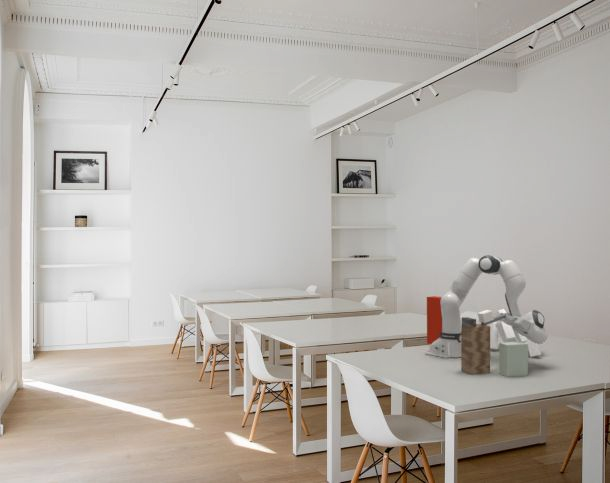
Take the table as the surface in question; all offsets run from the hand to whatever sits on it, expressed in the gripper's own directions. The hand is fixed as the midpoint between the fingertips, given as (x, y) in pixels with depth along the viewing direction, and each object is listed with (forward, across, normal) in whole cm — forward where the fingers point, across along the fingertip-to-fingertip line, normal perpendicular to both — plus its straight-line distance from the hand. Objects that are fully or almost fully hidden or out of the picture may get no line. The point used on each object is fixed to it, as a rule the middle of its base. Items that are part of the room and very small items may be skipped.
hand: (503, 314), depth 317 cm
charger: (+2, 0, +5) cm, 5 cm away
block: (-14, +11, +27) cm, 32 cm away
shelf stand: (0, 0, +35) cm, 35 cm away
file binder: (-19, -77, +24) cm, 83 cm away
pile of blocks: (-46, -40, +9) cm, 62 cm away
